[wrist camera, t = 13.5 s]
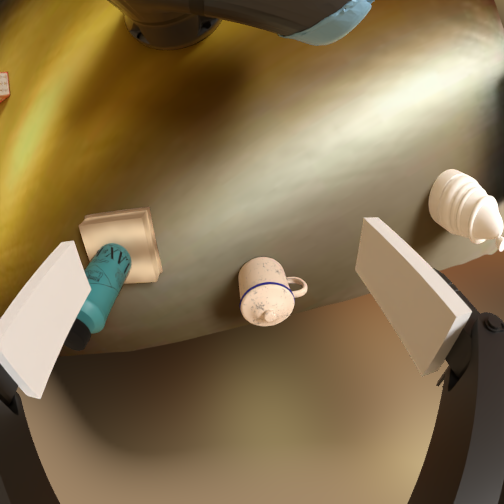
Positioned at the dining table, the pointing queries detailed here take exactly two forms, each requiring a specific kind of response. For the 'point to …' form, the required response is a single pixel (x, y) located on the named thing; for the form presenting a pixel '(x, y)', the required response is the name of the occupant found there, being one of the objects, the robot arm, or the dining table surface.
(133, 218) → the tan flat square block
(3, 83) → the cracker box
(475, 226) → the honey pot
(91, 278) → the beverage bottle
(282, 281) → the teacup with lid
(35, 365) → the robot arm
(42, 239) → the dining table surface
